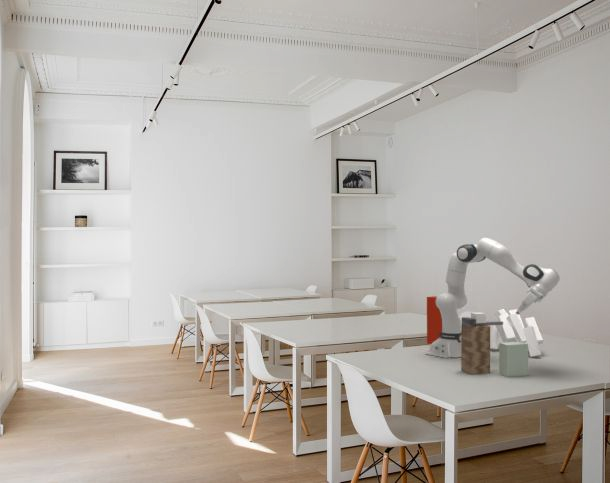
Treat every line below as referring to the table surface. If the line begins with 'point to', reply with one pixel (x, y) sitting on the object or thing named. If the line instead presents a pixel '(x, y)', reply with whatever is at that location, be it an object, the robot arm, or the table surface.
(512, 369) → the block
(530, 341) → the pile of blocks
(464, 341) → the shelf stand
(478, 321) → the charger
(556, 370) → the table surface
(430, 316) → the file binder
